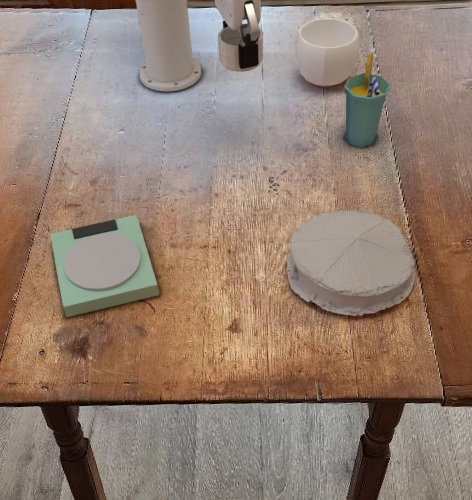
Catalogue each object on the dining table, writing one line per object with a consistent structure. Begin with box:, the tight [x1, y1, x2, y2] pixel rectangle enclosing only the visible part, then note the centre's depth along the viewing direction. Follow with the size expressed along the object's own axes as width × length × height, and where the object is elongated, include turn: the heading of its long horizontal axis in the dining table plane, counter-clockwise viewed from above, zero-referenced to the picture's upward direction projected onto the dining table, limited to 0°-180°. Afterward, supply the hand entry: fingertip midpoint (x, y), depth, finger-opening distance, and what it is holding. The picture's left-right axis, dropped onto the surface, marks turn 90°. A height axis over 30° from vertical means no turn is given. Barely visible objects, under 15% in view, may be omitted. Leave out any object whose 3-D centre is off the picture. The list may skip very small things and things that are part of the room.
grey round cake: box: [286, 207, 417, 317], centre depth 101 cm, size 20×20×7 cm
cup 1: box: [294, 17, 361, 88], centre depth 132 cm, size 12×12×10 cm
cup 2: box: [344, 52, 391, 148], centre depth 117 cm, size 14×8×15 cm, turn 2°
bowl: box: [217, 23, 264, 73], centre depth 112 cm, size 7×7×4 cm
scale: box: [50, 214, 160, 318], centre depth 105 cm, size 16×14×3 cm
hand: (240, 53), depth 113 cm, fingers closed on bowl, 7 cm apart
